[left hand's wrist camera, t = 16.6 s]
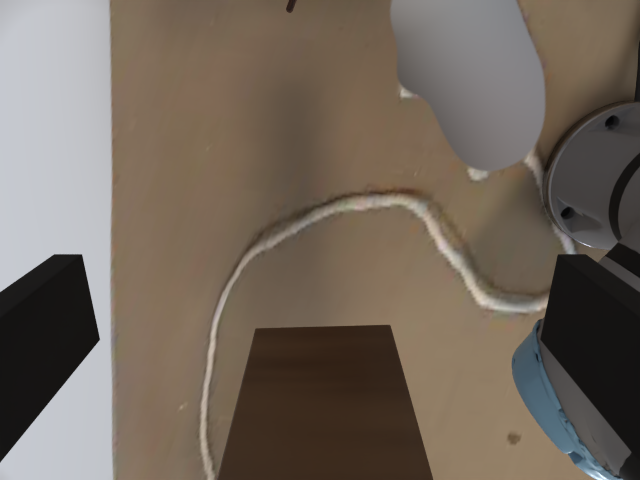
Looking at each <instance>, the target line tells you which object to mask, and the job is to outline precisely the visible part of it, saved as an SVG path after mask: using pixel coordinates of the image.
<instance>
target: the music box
mask: <svg viewBox="0 0 640 480" xmlns="http://www.w3.org/2000/svg"><path fill="white" fill-rule="evenodd" d="M295 3H296V0H289V3H288V5H287V8H286V10H287V12H289V13H291V12H292V11H293V8H294V6H295Z"/></svg>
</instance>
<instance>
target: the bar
mask: <svg viewBox="0 0 640 480" xmlns="http://www.w3.org/2000/svg"><path fill="white" fill-rule="evenodd" d="M217 480H433V477H432V473H431V470H430V466H429V462H428V459H427V455H426V452H425V448H424V445H423V441H422V437H421V434H420V430H419V427H418V423H417V419H416V416H415V412H414V409H413V405H412V401H411V398H410V394H409V391H408V387H407V383H406V380H405V376H404V373H403V369H402V365H401V362H400V358H399V355H398V351H397V347H396V344H395V340H394V337H393V333H392V329H391V326H390V325H366V326H329V327H293V328H257V329H255V333H254V337H253V341H252V345H251V348H250V352H249V356H248V360H247V364H246V368H245V372H244V376H243V380H242V384H241V388H240V392H239V396H238V399H237V403H236V407H235V411H234V415H233V419H232V423H231V427H230V431H229V435H228V439H227V443H226V447H225V450H224V454H223V458H222V462H221V466H220V470H219V474H218V478H217Z"/></svg>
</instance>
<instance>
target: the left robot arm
mask: <svg viewBox="0 0 640 480" xmlns="http://www.w3.org/2000/svg"><path fill="white" fill-rule="evenodd" d="M543 198H544V203H545V207H546V210H547V212H548V214H549V216H550V218H551V219H552V221H553V222H554V223H555V225H556V226H557V227H558V228H559V229H560V230H561V231H563V232H564V233H565V234H567V235H568V236H570V237H571V238H573V239H574V240H576V241H578V242H580V243H582V244H584V245H587V246H590V247H595V248H599V249H606V250H610V251H609V252H608V253H607V254H606V255H605V256H604V257H603V258H602V259H601V260H600V261H599V262H598V263H597V262H596V261H594V260H593V259H592V258H590V257H589V256H587V255H586V254H558V257H557V262H556V266H555V271H554V276H553V281H552V285H551V290H550V295H549V300H548V304H547V309H546V314H545V317H544V318H543V319H540V320H538V321H537V322H536V323H535V325H534V327H533V331H532V332H531V333H530V334H529V335H528V336H527V338H526V339H525V340H524V341H523V342H522V343H521V344H520V346H519V347H518V348H517V349H516V351H515V352H514V355H513V358H512V374H513V379H514V382H515V384H516V387H517V390H518V392H519V394H520V396H521V398H522V399H523V401H524V403H525V405H526V407H527V408H528V410H529V411H530V413H531V414H532V416H533V417H534V419H535V420H536V422H537V423H538V424H539V426H540V427H541V428H542V430H543V431H544V432H545V433H546V435H547V436H548V437H549V438H550V439H551V441H552V442H553V443H554V444H555V445H556V446H557V447H558V448H559V449H560V450H561V451H562V452H563V453H568V455H569V457H570V458H571V459H572V461H573V462H574V464H575V465H576V466H577V467H579V468H580V469H581V470H582V471H583V472H585V473H586V474H588V475H589V476H591V477H592V478H594V479H596V480H640V42H639V50H638V70H637V81H636V91H635V100H632V101H623V102H617V103H613V104H610V105H607V106H604V107H602V108H600V109H597V110H595V111H593V112H592V113H590V114H588V115H587V116H585V117H584V118H582V119H581V120H580V121H578V122H577V123H576V124H575V125H574V126H573V127H572V128H571V129H569V130H568V131H567V133H566V134H565V135H564V136H563V137H562V139H561V140H560V141H559V143H558V144H557V146H556V147H555V149H554V150H553V152H552V154H551V156H550V158H549V161H548V163H547V166H546V170H545V174H544V179H543ZM99 340H100V338H99V333H98V328H97V324H96V319H95V314H94V309H93V304H92V300H91V295H90V290H89V285H88V281H87V276H86V271H85V266H84V262H83V257H82V255H79V254H75V255H74V254H70V255H69V254H55V255H53V256H51V257H50V258H48V259H47V260H46V261H44V262H43V263H41V264H40V265H38V266H37V267H36V268H34V269H33V270H31V271H30V272H28V273H27V274H26V275H24V276H23V277H21V278H20V279H18V280H17V281H16V282H14V283H13V284H11V285H10V286H8V287H7V288H6V289H4V290H3V291H1V292H0V462H1V461H2V459H3V458H4V457H5V456H6V455H7V453H8V452H9V451H10V450H11V448H12V447H13V446H14V445H15V444H16V442H17V441H18V440H19V439H20V437H21V436H22V435H23V434H24V432H25V431H26V430H27V429H28V428H29V426H30V425H31V424H32V423H33V421H34V420H35V419H36V418H37V416H38V415H39V414H40V413H41V412H42V410H43V409H44V408H45V407H46V405H47V404H48V403H49V402H50V400H51V399H52V398H53V397H54V396H55V394H56V393H57V392H58V391H59V389H60V388H61V387H62V386H63V384H64V383H65V382H66V381H67V379H68V378H69V377H70V376H71V375H72V373H73V372H74V371H75V370H76V368H77V367H78V366H79V365H80V364H81V362H82V361H83V360H84V359H85V357H86V356H87V355H88V354H89V352H90V351H91V350H92V349H93V347H94V346H95V345H96V344H97V343H98V341H99Z"/></svg>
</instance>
